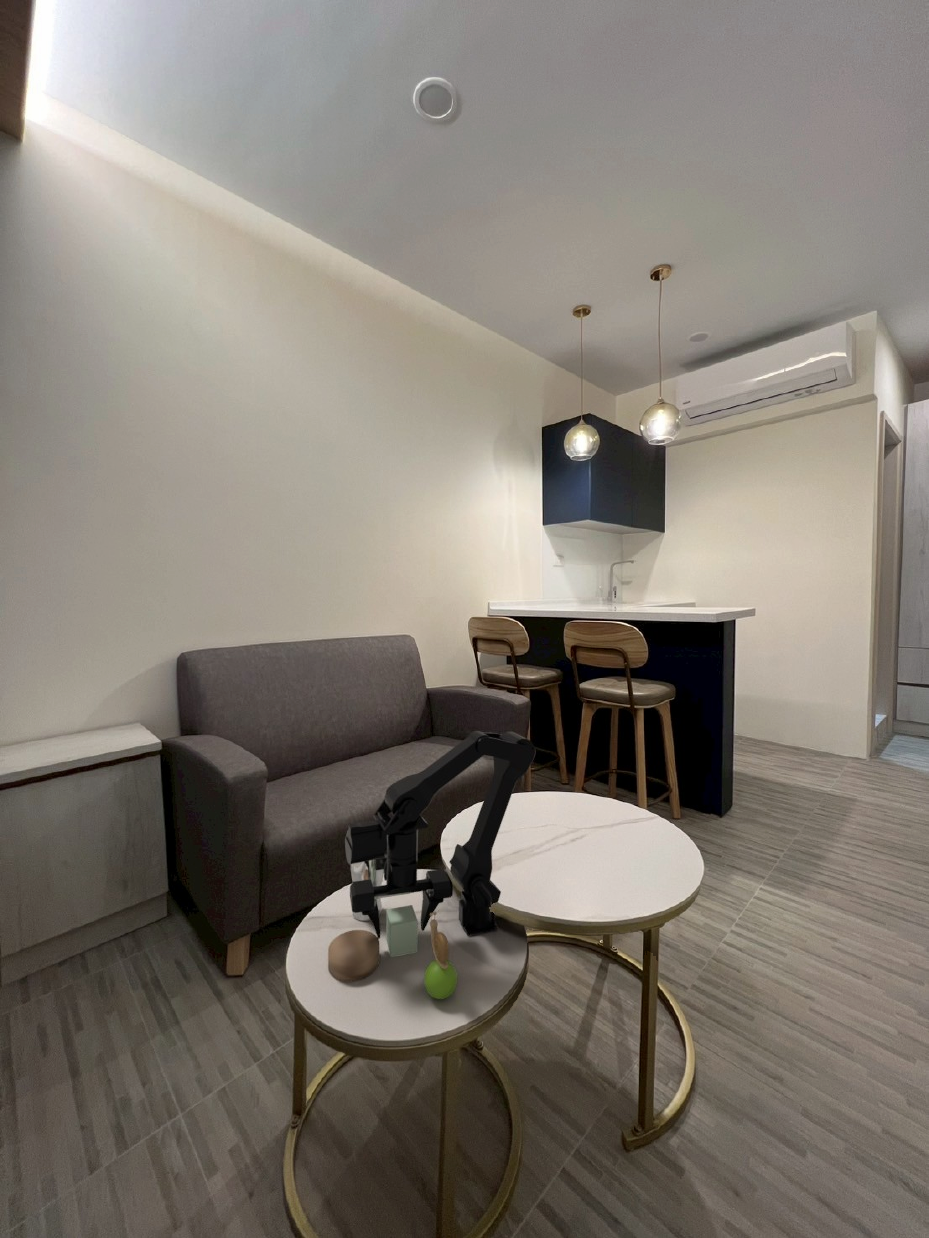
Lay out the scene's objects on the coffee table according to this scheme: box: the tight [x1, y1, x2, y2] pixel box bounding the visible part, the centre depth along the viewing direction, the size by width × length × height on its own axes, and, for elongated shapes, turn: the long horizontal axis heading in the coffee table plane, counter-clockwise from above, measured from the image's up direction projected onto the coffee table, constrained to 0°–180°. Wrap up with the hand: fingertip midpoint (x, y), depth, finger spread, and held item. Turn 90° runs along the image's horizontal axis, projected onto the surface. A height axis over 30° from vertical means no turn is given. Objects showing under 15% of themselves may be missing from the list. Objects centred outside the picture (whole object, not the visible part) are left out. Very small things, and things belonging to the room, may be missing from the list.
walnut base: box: [327, 929, 380, 983], centre depth 90 cm, size 9×9×3 cm
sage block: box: [385, 904, 419, 958], centre depth 95 cm, size 5×5×6 cm
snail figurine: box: [423, 911, 458, 1000], centre depth 83 cm, size 5×6×12 cm
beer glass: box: [350, 860, 384, 922], centre depth 104 cm, size 7×7×15 cm
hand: (400, 933), depth 95 cm, fingers open, 8 cm apart
